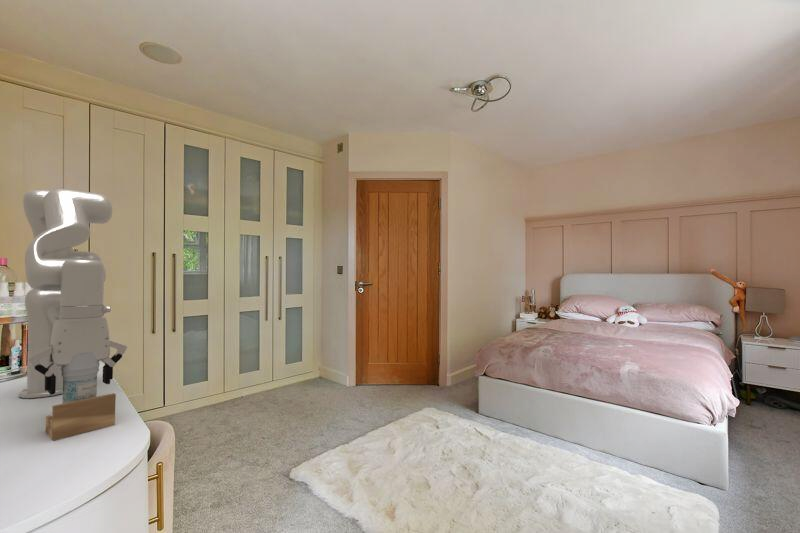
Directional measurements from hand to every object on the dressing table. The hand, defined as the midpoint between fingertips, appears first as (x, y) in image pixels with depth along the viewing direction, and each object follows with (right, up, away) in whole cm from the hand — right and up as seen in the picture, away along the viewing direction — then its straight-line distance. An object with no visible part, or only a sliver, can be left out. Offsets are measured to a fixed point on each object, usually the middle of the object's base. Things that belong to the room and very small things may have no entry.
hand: (80, 387), depth 85 cm
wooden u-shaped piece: (+1, -9, -1) cm, 9 cm away
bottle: (0, -9, 0) cm, 9 cm away
